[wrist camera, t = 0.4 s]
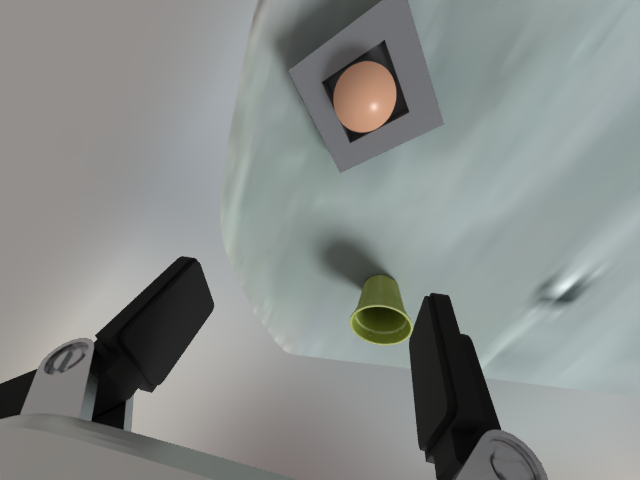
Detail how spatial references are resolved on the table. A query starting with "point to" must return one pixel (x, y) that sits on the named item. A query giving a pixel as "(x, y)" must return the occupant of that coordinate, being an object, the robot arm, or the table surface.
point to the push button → (364, 96)
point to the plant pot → (381, 313)
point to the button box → (383, 48)
